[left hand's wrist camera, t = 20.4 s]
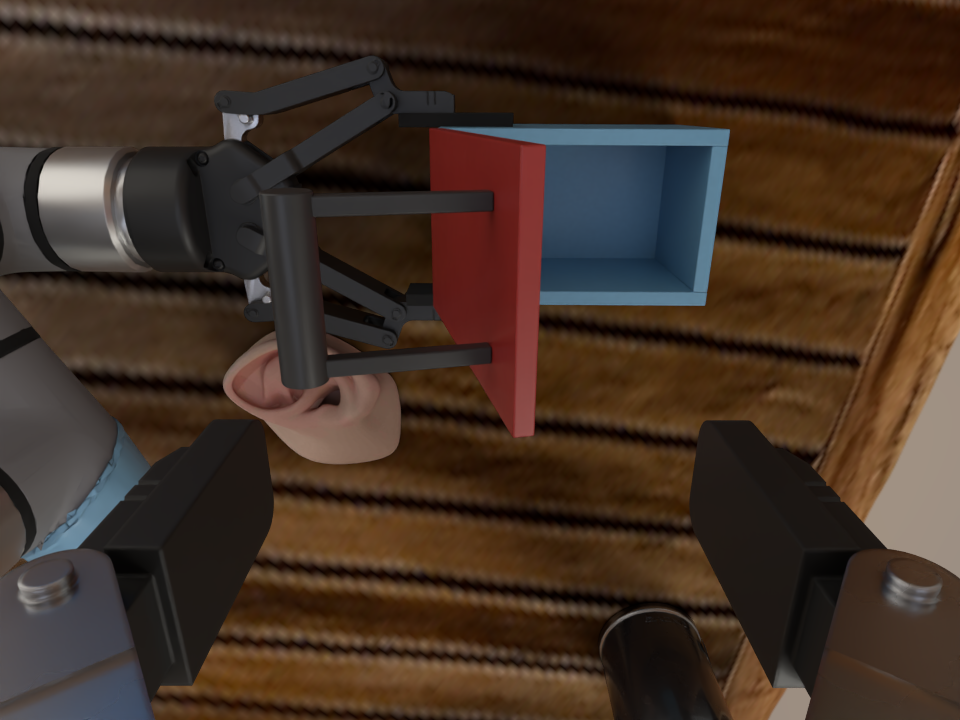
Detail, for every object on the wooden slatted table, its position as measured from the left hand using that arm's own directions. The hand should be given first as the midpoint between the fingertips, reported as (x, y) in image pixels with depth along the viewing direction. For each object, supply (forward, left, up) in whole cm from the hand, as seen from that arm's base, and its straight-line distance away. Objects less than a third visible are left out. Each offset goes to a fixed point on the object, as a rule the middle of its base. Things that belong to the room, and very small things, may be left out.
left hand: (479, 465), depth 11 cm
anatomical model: (-18, +9, -36) cm, 42 cm away
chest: (+1, -5, -36) cm, 37 cm away
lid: (0, 0, -18) cm, 18 cm away
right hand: (0, -2, -30) cm, 30 cm away
